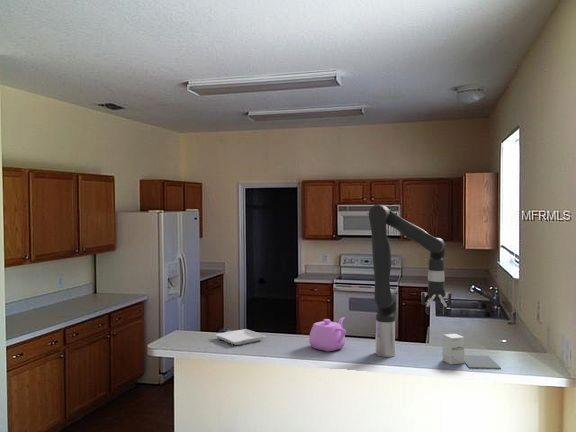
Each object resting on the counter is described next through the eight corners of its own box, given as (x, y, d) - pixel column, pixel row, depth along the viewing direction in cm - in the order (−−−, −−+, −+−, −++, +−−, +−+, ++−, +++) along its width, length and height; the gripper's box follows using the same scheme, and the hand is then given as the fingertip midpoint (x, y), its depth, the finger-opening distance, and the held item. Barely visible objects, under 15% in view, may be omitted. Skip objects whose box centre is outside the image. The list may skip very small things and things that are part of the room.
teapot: (334, 356, 242) (334, 326, 242) (304, 347, 257) (304, 319, 257) (362, 347, 258) (362, 318, 258) (332, 339, 273) (332, 312, 273)
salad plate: (245, 333, 288) (245, 328, 288) (266, 341, 271) (266, 335, 271) (214, 340, 275) (214, 334, 275) (234, 348, 258) (234, 342, 258)
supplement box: (451, 365, 228) (451, 338, 228) (442, 360, 235) (442, 334, 235) (464, 363, 230) (464, 336, 230) (455, 358, 237) (455, 333, 237)
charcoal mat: (469, 368, 223) (469, 367, 223) (459, 356, 241) (459, 355, 241) (500, 369, 222) (500, 367, 222) (488, 356, 240) (488, 355, 240)
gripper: (422, 280, 230) (422, 315, 230) (453, 281, 229) (453, 316, 229) (419, 278, 237) (419, 312, 238) (449, 278, 236) (449, 312, 236)
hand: (436, 314), depth 233 cm, fingers open, 7 cm apart
